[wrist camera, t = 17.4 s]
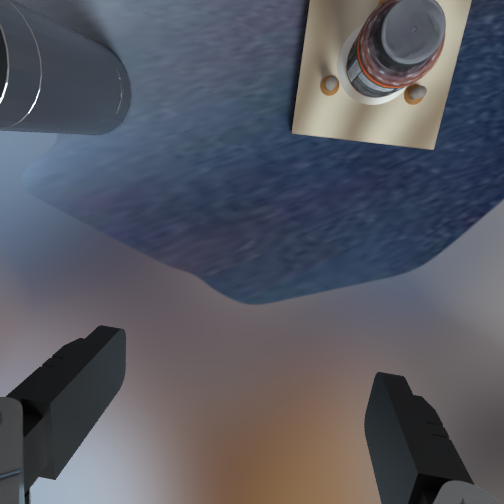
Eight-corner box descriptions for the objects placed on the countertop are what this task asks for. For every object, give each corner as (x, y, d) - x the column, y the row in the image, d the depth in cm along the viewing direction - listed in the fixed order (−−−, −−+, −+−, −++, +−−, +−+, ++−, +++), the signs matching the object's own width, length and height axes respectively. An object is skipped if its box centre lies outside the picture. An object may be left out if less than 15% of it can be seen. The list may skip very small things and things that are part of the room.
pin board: (291, 133, 38) (291, 132, 35) (313, -25, 33) (315, -42, 30) (429, 149, 36) (441, 149, 33) (469, -12, 32) (487, -29, 29)
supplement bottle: (377, 13, 33) (417, -51, 22) (424, 58, 33) (486, 18, 22) (331, 71, 34) (347, 38, 24) (377, 112, 35) (413, 99, 24)
